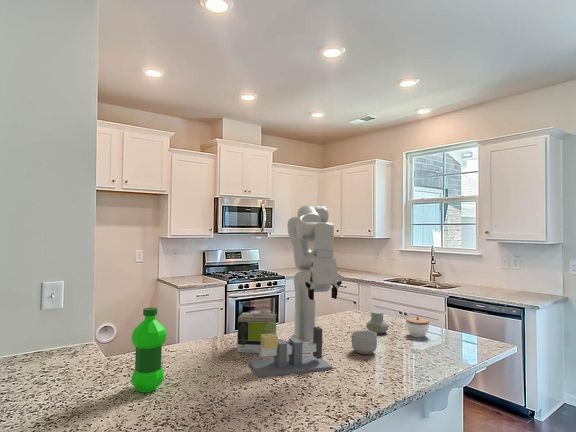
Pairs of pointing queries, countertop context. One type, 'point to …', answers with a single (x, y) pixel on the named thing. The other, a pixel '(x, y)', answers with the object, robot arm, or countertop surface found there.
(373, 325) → the air freshener
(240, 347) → the tea box
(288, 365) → the bracket
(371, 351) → the teacup
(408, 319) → the lidded jar
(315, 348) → the shaft
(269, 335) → the block
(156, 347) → the plastic bottle
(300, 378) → the countertop surface
